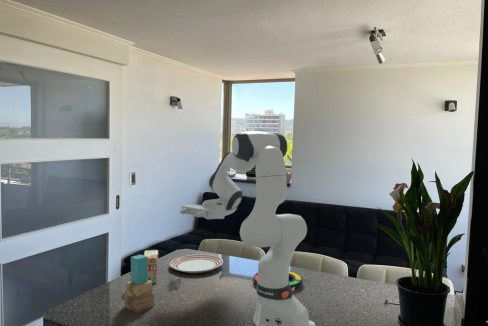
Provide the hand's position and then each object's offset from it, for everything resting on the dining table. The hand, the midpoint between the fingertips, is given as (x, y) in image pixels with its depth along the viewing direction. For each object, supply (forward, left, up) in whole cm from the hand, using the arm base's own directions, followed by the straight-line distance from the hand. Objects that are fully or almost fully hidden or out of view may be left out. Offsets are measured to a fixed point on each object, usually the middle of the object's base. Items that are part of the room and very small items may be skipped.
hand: (188, 213), depth 162 cm
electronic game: (-26, -32, -34) cm, 54 cm away
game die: (+17, +14, -34) cm, 41 cm away
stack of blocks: (+27, -2, -34) cm, 44 cm away
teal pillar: (+4, +23, -24) cm, 34 cm away
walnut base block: (+4, +23, -34) cm, 42 cm away
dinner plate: (+19, -25, -34) cm, 47 cm away
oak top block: (+4, +23, -29) cm, 37 cm away
